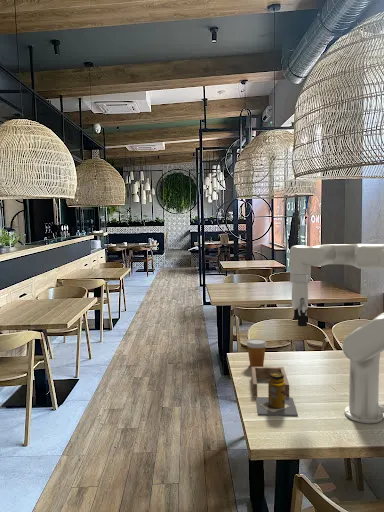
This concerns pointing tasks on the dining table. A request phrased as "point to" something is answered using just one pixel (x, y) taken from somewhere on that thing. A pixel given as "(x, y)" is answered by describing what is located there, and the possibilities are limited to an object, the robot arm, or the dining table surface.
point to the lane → (267, 377)
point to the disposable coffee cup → (256, 352)
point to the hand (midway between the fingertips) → (300, 322)
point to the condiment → (275, 393)
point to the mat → (283, 412)
